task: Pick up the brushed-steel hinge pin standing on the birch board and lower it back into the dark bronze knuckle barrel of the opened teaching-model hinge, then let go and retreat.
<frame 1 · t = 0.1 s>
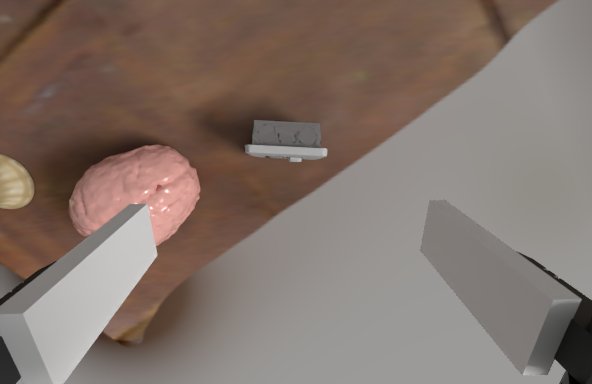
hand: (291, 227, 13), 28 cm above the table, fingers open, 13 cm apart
brain: (155, 186, 42), on the table
electrical switch: (284, 138, 40), on the table
hand bell: (4, 181, 41), on the table
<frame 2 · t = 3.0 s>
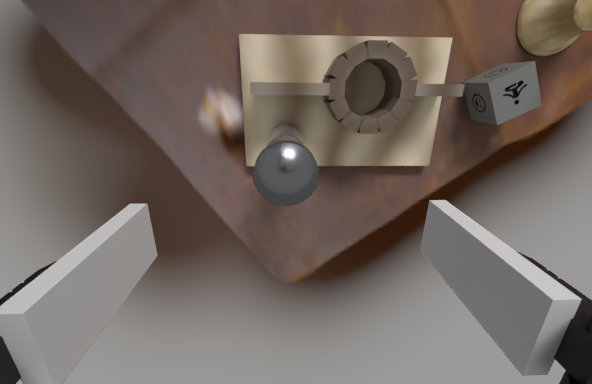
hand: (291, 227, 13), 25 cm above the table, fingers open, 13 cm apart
dice cube: (484, 92, 36), on the table
pin: (285, 139, 36), point 1 cm above the table, touching hinge board
hand bell: (550, 17, 33), on the table
hinge board: (340, 105, 36), on the table
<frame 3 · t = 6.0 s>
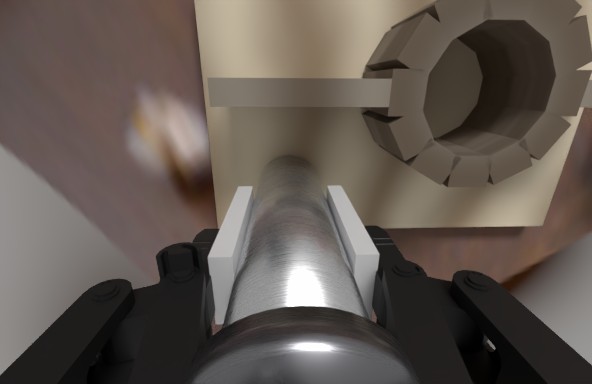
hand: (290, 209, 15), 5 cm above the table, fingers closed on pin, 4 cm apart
pin: (289, 184, 19), point 1 cm above the table, touching gripper, hinge board
hinge board: (391, 121, 19), on the table
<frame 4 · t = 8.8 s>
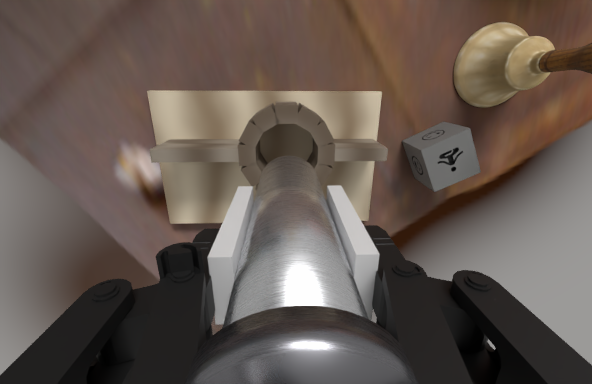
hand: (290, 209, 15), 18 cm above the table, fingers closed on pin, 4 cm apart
dice cube: (427, 150, 34), on the table
pin: (288, 184, 19), point 14 cm above the table, touching gripper
hand bell: (490, 67, 31), on the table
hinge board: (269, 159, 33), on the table
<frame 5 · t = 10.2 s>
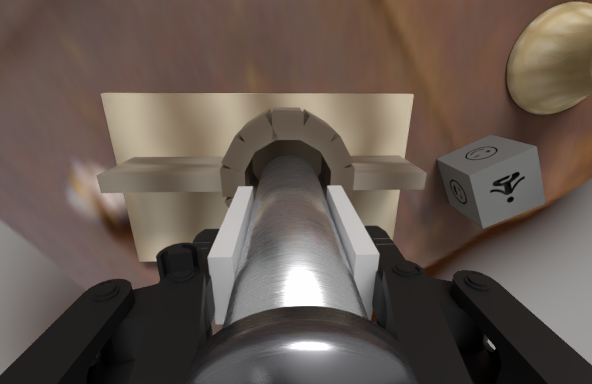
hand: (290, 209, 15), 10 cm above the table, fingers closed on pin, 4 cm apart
dice cube: (467, 170, 27), on the table
pin: (288, 184, 19), point 6 cm above the table, touching gripper
hand bell: (554, 61, 23), on the table
hinge board: (265, 181, 26), on the table
when the fingers open (8 cm above the table, at t = 11.6 s): pin drops 2 cm, resting on hinge board.
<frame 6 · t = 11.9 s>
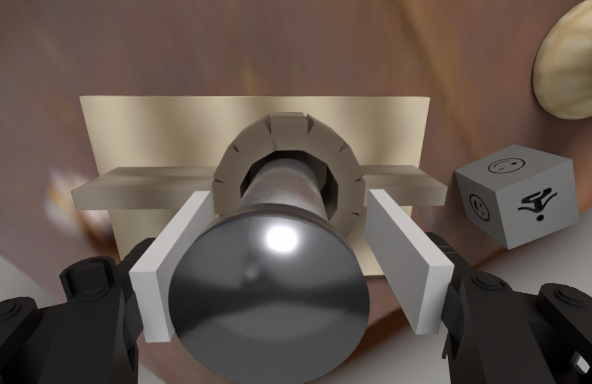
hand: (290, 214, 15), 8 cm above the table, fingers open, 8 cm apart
dice cube: (487, 182, 24), on the table
pin: (287, 174, 21), point 1 cm above the table, touching hinge board
hand bell: (586, 61, 21), on the table
hinge board: (263, 192, 23), on the table
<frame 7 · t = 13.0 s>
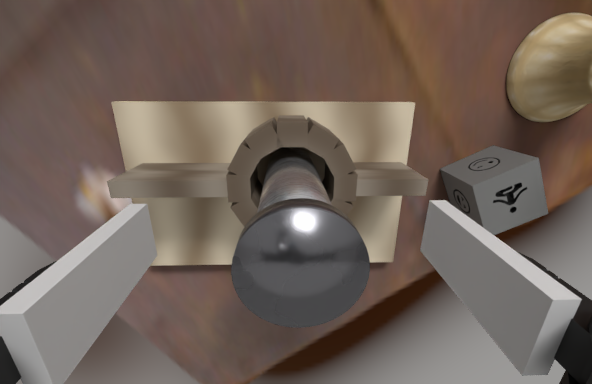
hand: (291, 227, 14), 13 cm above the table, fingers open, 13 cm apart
dice cube: (470, 179, 27), on the table
pin: (290, 169, 24), point 1 cm above the table, touching hinge board
hand bell: (553, 70, 24), on the table
hinge board: (269, 186, 26), on the table
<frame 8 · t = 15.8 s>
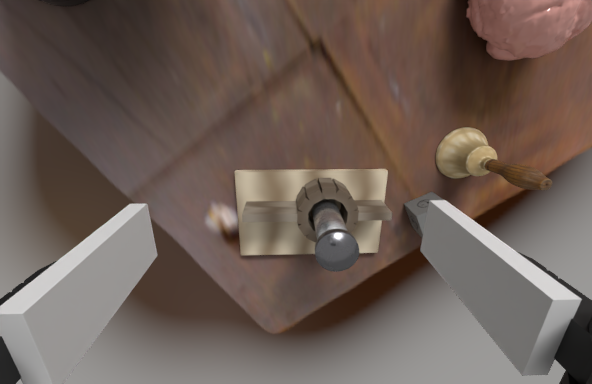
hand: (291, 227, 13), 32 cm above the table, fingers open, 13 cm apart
dice cube: (421, 209, 49), on the table
pin: (323, 204, 46), point 1 cm above the table, touching hinge board
hand bell: (460, 153, 46), on the table
hinge board: (310, 212, 48), on the table
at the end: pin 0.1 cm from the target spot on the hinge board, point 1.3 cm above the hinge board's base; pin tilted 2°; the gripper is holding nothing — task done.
